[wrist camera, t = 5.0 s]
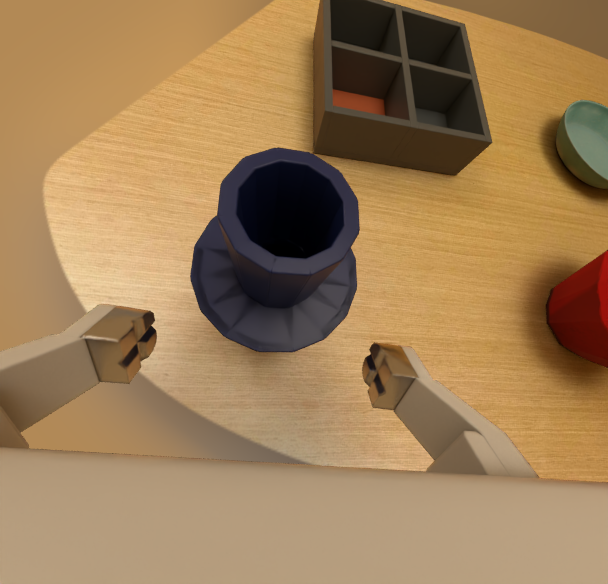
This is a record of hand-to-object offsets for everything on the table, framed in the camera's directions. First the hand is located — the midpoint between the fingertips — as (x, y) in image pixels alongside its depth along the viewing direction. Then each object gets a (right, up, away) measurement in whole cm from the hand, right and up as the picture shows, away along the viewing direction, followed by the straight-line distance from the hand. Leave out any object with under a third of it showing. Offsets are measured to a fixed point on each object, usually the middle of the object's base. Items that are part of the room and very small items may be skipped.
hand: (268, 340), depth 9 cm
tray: (+11, +25, +21) cm, 35 cm away
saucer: (+43, +22, +26) cm, 54 cm away
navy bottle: (-2, 0, +12) cm, 12 cm away
